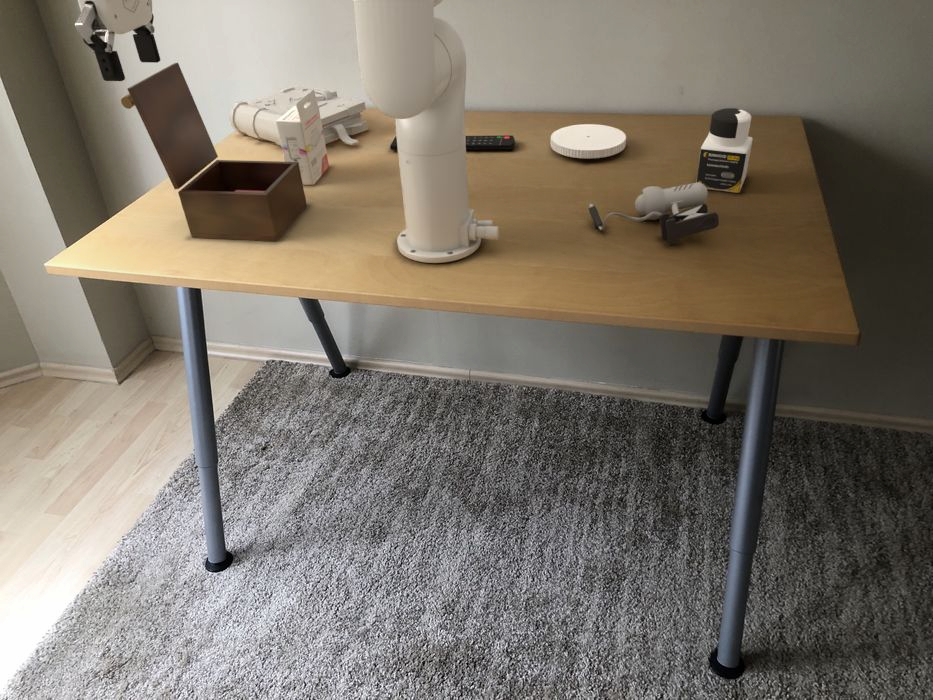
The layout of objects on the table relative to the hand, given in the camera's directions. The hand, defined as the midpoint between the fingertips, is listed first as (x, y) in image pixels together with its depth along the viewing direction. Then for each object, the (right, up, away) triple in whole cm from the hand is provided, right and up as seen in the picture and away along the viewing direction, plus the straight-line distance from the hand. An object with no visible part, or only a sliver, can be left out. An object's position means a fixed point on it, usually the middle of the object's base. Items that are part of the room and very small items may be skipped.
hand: (133, 70), depth 108 cm
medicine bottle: (+93, -14, +15) cm, 95 cm away
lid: (+5, -7, +4) cm, 9 cm away
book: (+17, +3, +44) cm, 47 cm away
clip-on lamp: (+77, -23, +3) cm, 81 cm away
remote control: (+47, -2, +34) cm, 58 cm away
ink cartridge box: (+21, -10, +26) cm, 35 cm away
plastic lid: (+73, -4, +30) cm, 79 cm away
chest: (+14, -20, +12) cm, 27 cm away
